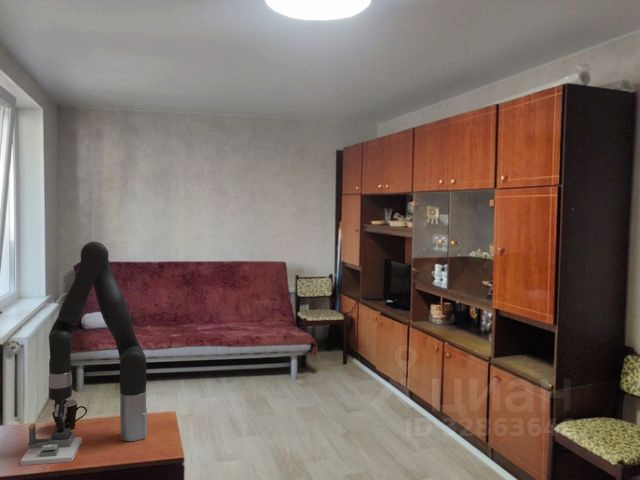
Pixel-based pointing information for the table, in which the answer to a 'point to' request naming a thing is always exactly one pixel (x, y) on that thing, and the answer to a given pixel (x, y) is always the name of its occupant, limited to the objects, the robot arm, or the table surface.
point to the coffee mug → (71, 414)
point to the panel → (52, 451)
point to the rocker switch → (49, 447)
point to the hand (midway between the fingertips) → (60, 431)
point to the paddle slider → (32, 434)
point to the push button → (61, 434)
